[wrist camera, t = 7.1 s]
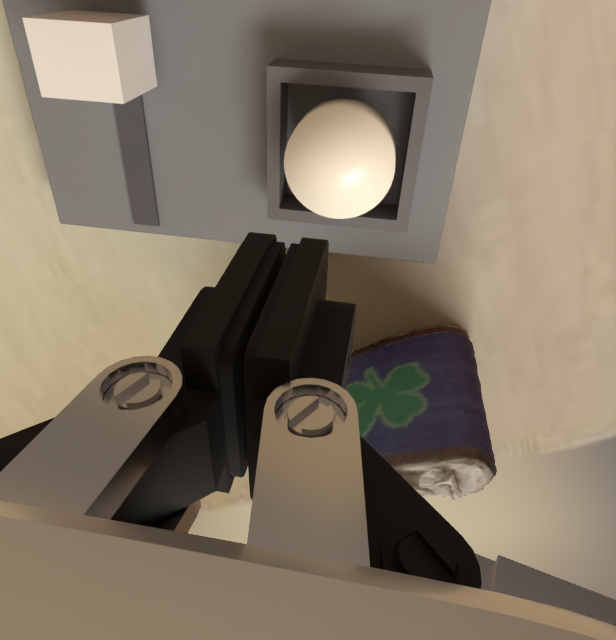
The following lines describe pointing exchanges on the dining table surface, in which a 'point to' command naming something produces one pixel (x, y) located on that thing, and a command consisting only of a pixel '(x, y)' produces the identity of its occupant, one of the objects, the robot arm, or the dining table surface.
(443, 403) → the flask
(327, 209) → the ivory button
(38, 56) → the beige cube
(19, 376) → the dining table surface
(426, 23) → the panel
